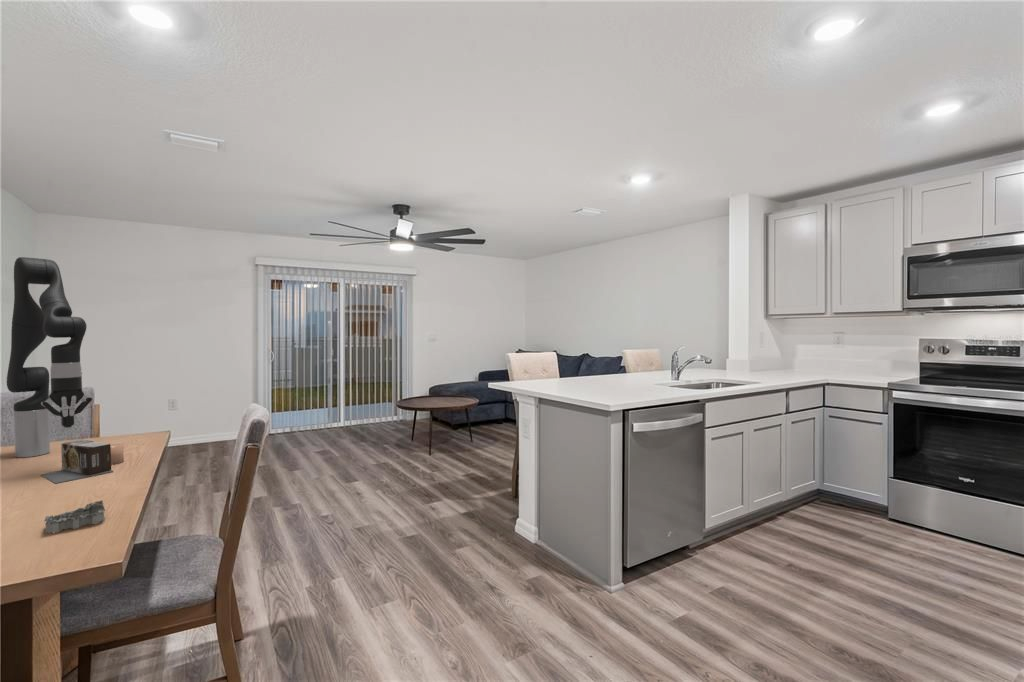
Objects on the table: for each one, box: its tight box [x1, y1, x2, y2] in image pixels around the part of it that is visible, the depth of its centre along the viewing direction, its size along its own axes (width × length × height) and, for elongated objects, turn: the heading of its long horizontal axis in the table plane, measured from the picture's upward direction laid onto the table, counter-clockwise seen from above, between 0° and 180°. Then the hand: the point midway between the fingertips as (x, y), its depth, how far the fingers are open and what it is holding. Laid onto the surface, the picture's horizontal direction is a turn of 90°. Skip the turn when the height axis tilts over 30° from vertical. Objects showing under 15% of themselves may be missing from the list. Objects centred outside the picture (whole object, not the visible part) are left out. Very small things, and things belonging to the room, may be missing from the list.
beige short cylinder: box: [110, 443, 125, 466], centre depth 164 cm, size 6×6×6 cm
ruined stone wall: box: [44, 500, 106, 534], centre depth 112 cm, size 11×8×4 cm
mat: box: [40, 469, 114, 485], centre depth 152 cm, size 16×14×1 cm
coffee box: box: [60, 439, 112, 475], centre depth 154 cm, size 9×6×16 cm
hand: (67, 427), depth 156 cm, fingers closed
